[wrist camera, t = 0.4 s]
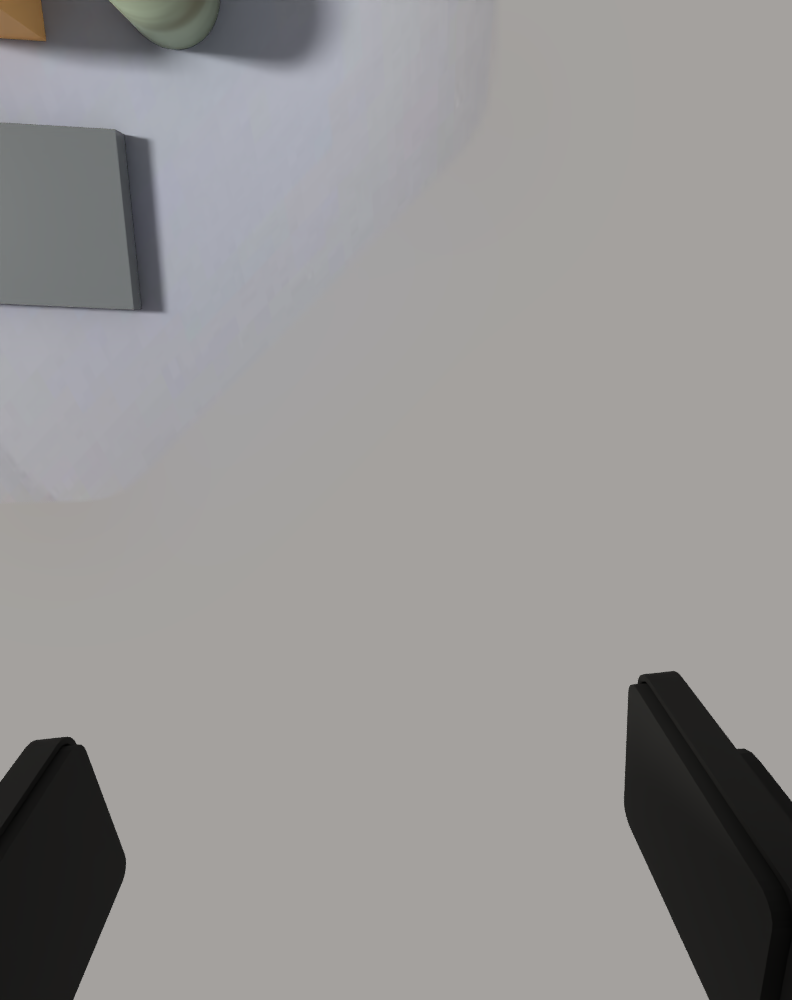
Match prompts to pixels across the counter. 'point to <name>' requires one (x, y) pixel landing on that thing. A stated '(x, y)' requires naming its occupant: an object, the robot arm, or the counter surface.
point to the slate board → (66, 218)
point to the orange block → (22, 20)
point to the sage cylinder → (171, 20)
